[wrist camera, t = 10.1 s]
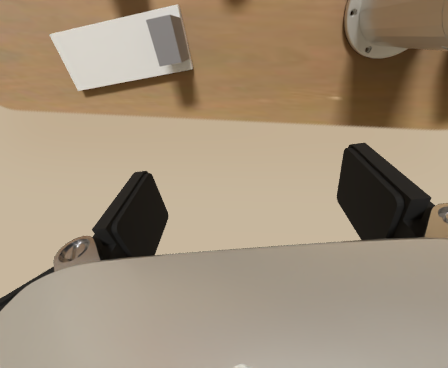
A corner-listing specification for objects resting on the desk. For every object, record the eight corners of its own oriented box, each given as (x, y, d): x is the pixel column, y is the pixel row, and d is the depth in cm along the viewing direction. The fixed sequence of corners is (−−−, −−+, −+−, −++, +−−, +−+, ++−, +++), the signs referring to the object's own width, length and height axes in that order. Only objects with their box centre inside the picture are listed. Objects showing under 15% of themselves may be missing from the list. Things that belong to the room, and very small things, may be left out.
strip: (179, 5, 30) (165, -2, 25) (193, 68, 35) (184, 74, 29) (54, 34, 33) (15, 34, 27) (82, 89, 38) (53, 99, 32)
